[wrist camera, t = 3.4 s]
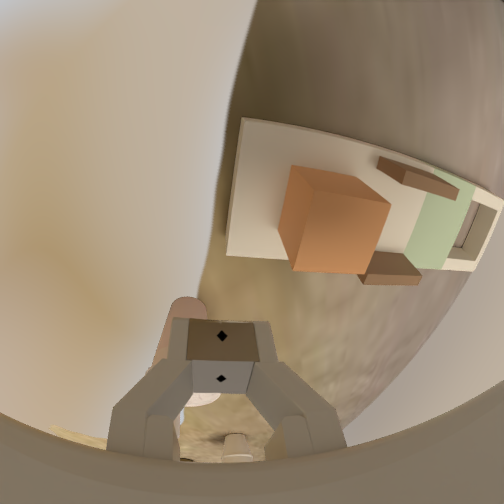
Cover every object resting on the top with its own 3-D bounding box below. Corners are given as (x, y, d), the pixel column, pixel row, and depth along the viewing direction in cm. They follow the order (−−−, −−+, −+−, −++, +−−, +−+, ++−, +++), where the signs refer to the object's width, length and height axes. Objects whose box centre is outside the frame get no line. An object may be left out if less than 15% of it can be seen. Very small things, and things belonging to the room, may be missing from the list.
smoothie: (191, 275, 25) (179, 417, 14) (231, 313, 28) (242, 441, 17) (146, 304, 27) (121, 430, 15) (187, 337, 30) (182, 453, 18)
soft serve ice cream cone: (248, 428, 48) (257, 497, 34) (258, 438, 52) (266, 498, 39) (210, 433, 48) (214, 500, 35) (223, 443, 52) (228, 502, 39)
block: (291, 164, 18) (314, 190, 13) (356, 176, 18) (391, 204, 14) (277, 230, 20) (293, 270, 16) (338, 236, 21) (364, 274, 17)
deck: (241, 117, 18) (250, 126, 13) (489, 190, 23) (524, 215, 18) (225, 236, 23) (227, 284, 18) (460, 258, 29) (489, 288, 23)
